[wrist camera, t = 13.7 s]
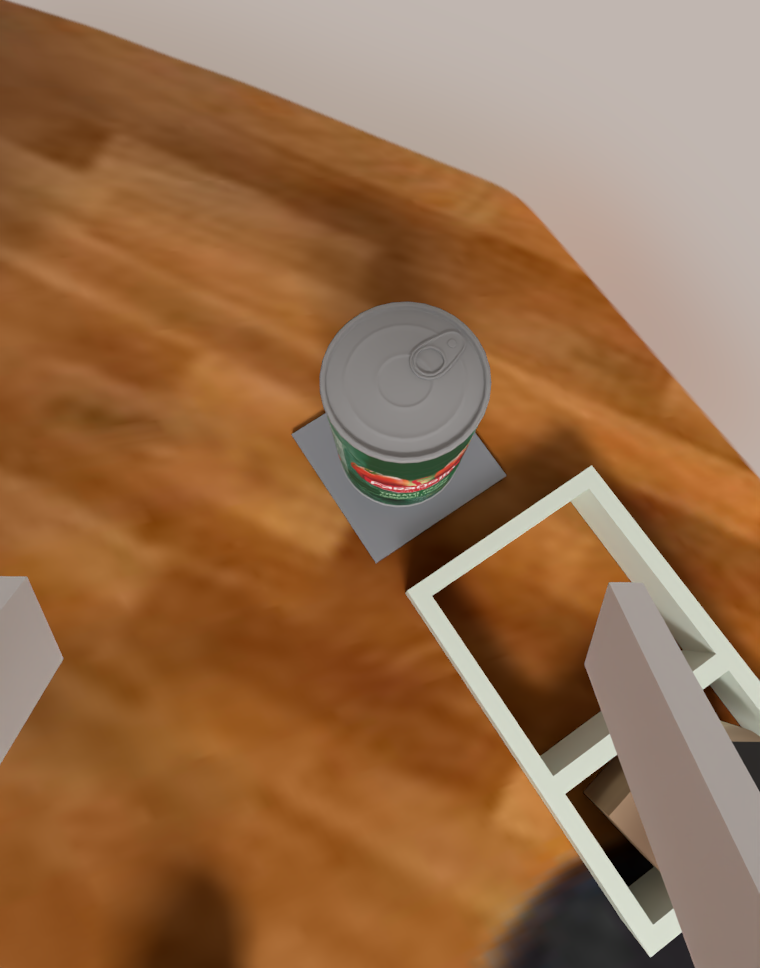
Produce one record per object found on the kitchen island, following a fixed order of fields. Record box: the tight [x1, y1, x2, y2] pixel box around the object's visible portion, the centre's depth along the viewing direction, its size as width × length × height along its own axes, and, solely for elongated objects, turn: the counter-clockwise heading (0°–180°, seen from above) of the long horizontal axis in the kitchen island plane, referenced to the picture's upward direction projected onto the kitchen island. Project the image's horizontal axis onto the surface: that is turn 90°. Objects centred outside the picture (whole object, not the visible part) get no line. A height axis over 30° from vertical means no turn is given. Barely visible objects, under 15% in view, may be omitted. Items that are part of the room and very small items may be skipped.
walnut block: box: [583, 755, 660, 871], centre depth 30 cm, size 4×4×4 cm
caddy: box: [406, 465, 760, 957], centre depth 32 cm, size 21×13×4 cm, turn 34°
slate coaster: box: [291, 413, 507, 563], centre depth 37 cm, size 10×10×1 cm
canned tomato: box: [320, 302, 491, 507], centre depth 31 cm, size 8×8×11 cm
